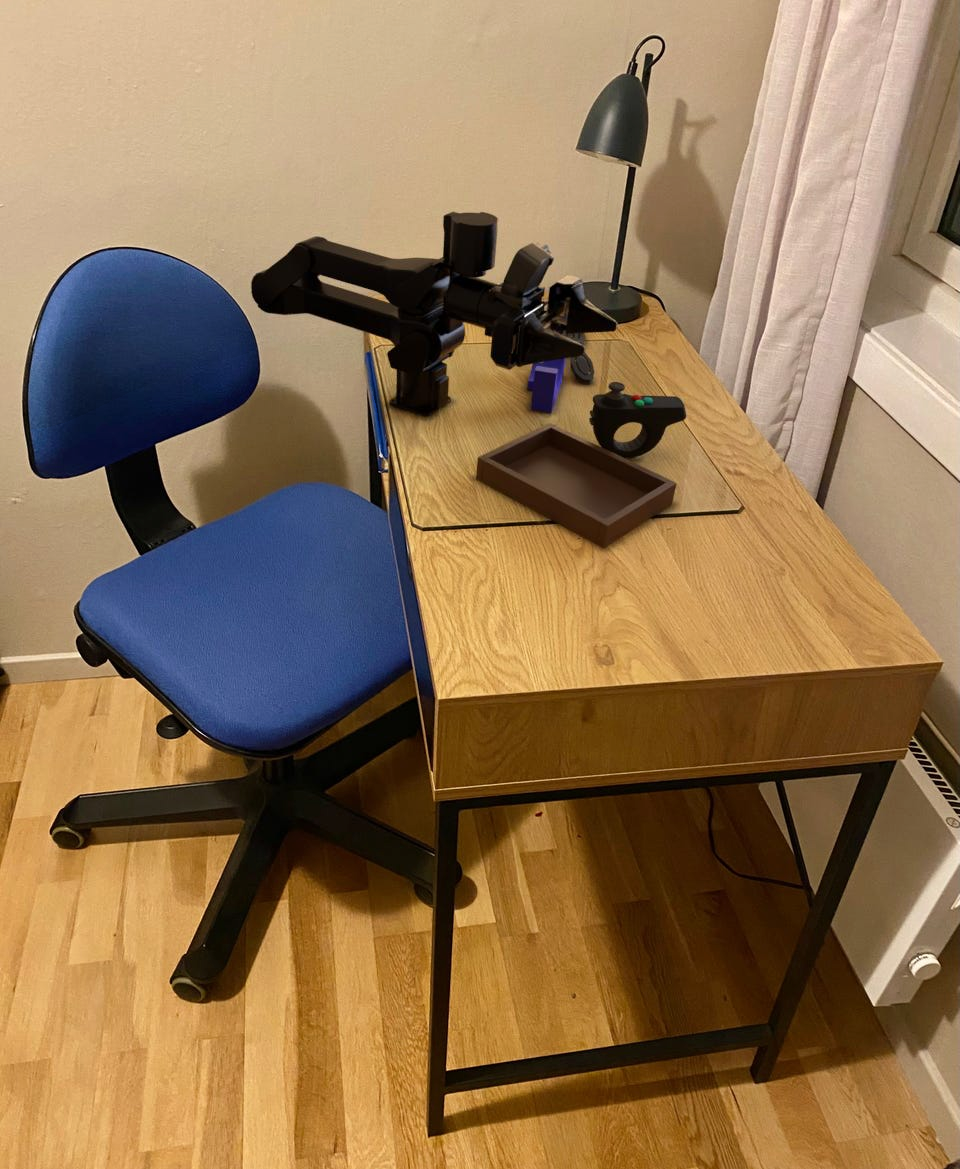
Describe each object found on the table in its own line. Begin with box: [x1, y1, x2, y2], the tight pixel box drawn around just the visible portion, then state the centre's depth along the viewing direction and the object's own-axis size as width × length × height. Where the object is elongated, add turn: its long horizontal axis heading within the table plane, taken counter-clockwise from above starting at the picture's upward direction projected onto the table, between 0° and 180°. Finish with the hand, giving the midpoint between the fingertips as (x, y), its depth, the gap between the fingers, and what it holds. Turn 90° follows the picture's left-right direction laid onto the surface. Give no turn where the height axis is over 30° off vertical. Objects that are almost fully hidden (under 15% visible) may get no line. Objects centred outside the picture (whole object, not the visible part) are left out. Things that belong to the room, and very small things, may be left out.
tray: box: [475, 422, 677, 549], centre depth 117 cm, size 20×14×3 cm
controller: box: [588, 381, 687, 459], centre depth 123 cm, size 4×12×10 cm, turn 97°
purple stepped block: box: [526, 358, 567, 414], centre depth 138 cm, size 12×4×6 cm, turn 168°
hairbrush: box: [542, 297, 596, 385], centre depth 151 cm, size 8×4×25 cm
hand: (600, 338), depth 115 cm, fingers open, 9 cm apart
